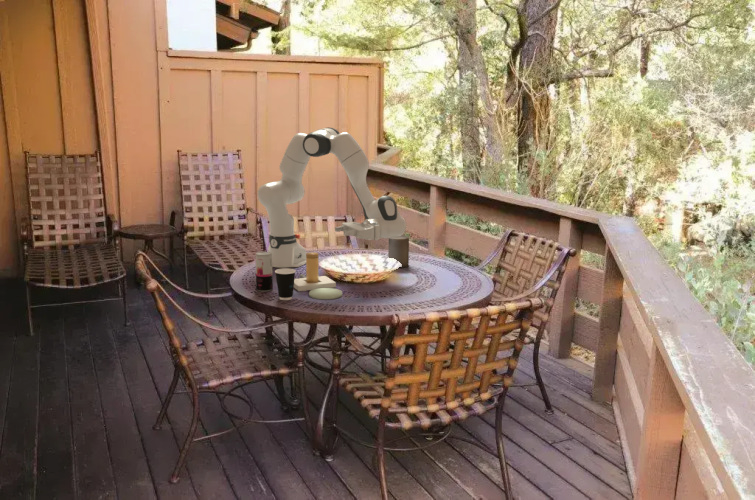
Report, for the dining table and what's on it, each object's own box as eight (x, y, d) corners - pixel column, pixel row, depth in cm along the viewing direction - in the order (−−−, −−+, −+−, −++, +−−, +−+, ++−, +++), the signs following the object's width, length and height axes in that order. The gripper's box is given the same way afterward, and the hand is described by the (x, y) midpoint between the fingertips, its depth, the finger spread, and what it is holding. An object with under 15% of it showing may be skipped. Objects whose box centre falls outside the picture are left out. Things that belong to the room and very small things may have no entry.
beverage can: (260, 292, 265) (259, 255, 262) (253, 289, 270) (252, 252, 267) (275, 290, 268) (275, 253, 265) (268, 286, 274) (267, 250, 271)
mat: (322, 288, 272) (322, 286, 272) (348, 293, 265) (348, 291, 265) (302, 295, 261) (302, 293, 261) (329, 301, 255) (329, 298, 254)
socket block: (318, 276, 292) (318, 271, 292) (335, 287, 275) (335, 282, 274) (283, 279, 285) (283, 274, 285) (298, 291, 268) (298, 286, 267)
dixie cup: (297, 300, 255) (297, 272, 252) (276, 302, 253) (276, 273, 250) (294, 295, 262) (294, 267, 260) (274, 296, 260) (273, 268, 258)
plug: (316, 283, 280) (315, 252, 277) (320, 286, 275) (320, 254, 272) (304, 284, 278) (304, 253, 275) (308, 287, 273) (308, 255, 270)
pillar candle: (410, 264, 318) (411, 232, 315) (406, 268, 308) (406, 236, 305) (390, 262, 320) (391, 231, 317) (385, 267, 311) (385, 235, 308)
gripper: (360, 218, 291) (330, 219, 285) (380, 225, 273) (349, 227, 267) (360, 232, 293) (330, 234, 287) (380, 240, 275) (349, 243, 269)
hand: (339, 231), depth 277 cm, fingers open, 8 cm apart
